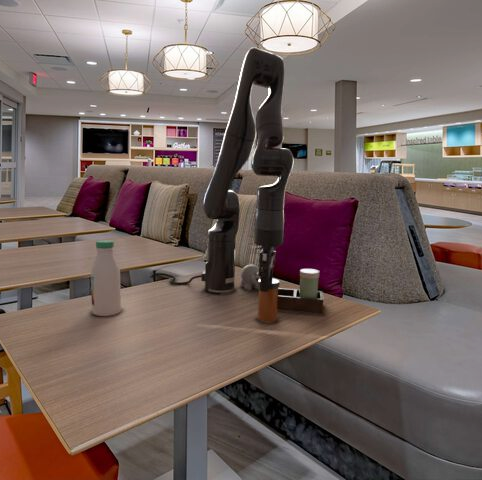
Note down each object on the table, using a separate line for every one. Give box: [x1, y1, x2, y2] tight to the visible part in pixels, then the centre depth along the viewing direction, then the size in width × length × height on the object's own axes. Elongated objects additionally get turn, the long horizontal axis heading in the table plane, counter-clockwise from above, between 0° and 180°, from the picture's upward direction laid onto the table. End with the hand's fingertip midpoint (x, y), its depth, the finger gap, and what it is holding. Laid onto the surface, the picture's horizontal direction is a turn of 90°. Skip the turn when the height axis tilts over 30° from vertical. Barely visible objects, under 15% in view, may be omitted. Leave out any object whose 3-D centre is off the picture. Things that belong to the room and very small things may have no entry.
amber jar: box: [257, 277, 281, 323], centre depth 112 cm, size 6×6×11 cm
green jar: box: [299, 268, 321, 299], centre depth 121 cm, size 6×6×11 cm
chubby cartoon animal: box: [239, 264, 260, 291], centre depth 138 cm, size 7×12×8 cm, turn 20°
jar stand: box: [277, 287, 324, 315], centre depth 123 cm, size 16×8×5 cm, turn 79°
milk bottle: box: [90, 239, 122, 317], centre depth 114 cm, size 8×8×20 cm
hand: (266, 286), depth 111 cm, fingers open, 8 cm apart
